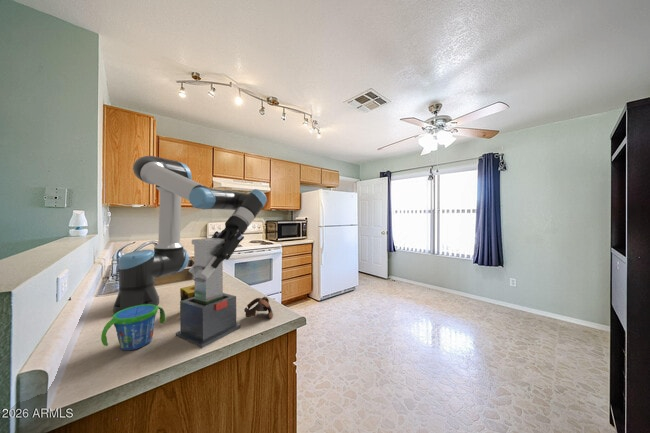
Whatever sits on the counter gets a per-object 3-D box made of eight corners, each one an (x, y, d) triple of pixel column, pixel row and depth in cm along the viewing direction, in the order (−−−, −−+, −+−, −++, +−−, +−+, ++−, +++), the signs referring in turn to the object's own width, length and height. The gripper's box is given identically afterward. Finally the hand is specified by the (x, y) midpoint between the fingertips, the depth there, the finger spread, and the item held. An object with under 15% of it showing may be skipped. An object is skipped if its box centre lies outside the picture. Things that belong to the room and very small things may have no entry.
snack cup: (108, 364, 61) (108, 325, 61) (95, 352, 66) (94, 316, 66) (173, 337, 74) (173, 305, 74) (157, 329, 79) (157, 299, 79)
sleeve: (175, 335, 75) (175, 301, 75) (214, 318, 87) (214, 289, 87) (201, 348, 68) (201, 310, 68) (240, 327, 80) (240, 295, 80)
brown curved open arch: (271, 324, 84) (259, 306, 82) (249, 334, 85) (237, 317, 83) (279, 303, 95) (268, 287, 93) (259, 312, 97) (249, 296, 95)
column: (191, 311, 76) (191, 239, 76) (212, 304, 82) (211, 237, 82) (205, 316, 72) (204, 240, 72) (225, 308, 79) (224, 238, 79)
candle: (216, 312, 93) (216, 287, 93) (188, 320, 86) (188, 293, 86) (206, 305, 100) (206, 282, 100) (180, 312, 93) (179, 287, 93)
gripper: (263, 229, 86) (225, 285, 72) (228, 227, 95) (189, 277, 81) (251, 214, 81) (208, 271, 67) (217, 214, 91) (172, 264, 77)
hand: (198, 274), depth 74 cm, fingers closed on column, 6 cm apart
